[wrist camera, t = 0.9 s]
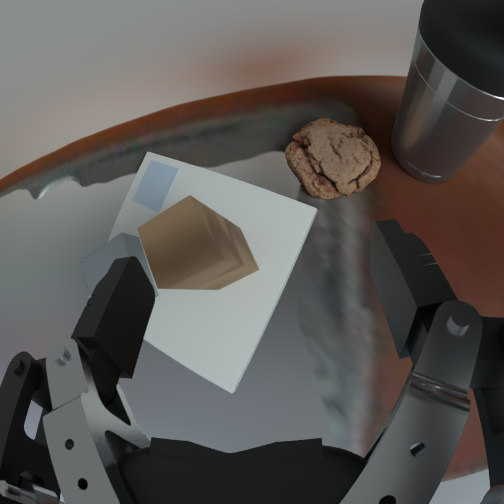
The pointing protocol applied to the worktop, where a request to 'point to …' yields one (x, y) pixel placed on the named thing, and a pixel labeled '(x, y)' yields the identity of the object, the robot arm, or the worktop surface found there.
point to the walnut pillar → (195, 248)
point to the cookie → (332, 158)
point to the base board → (209, 301)
